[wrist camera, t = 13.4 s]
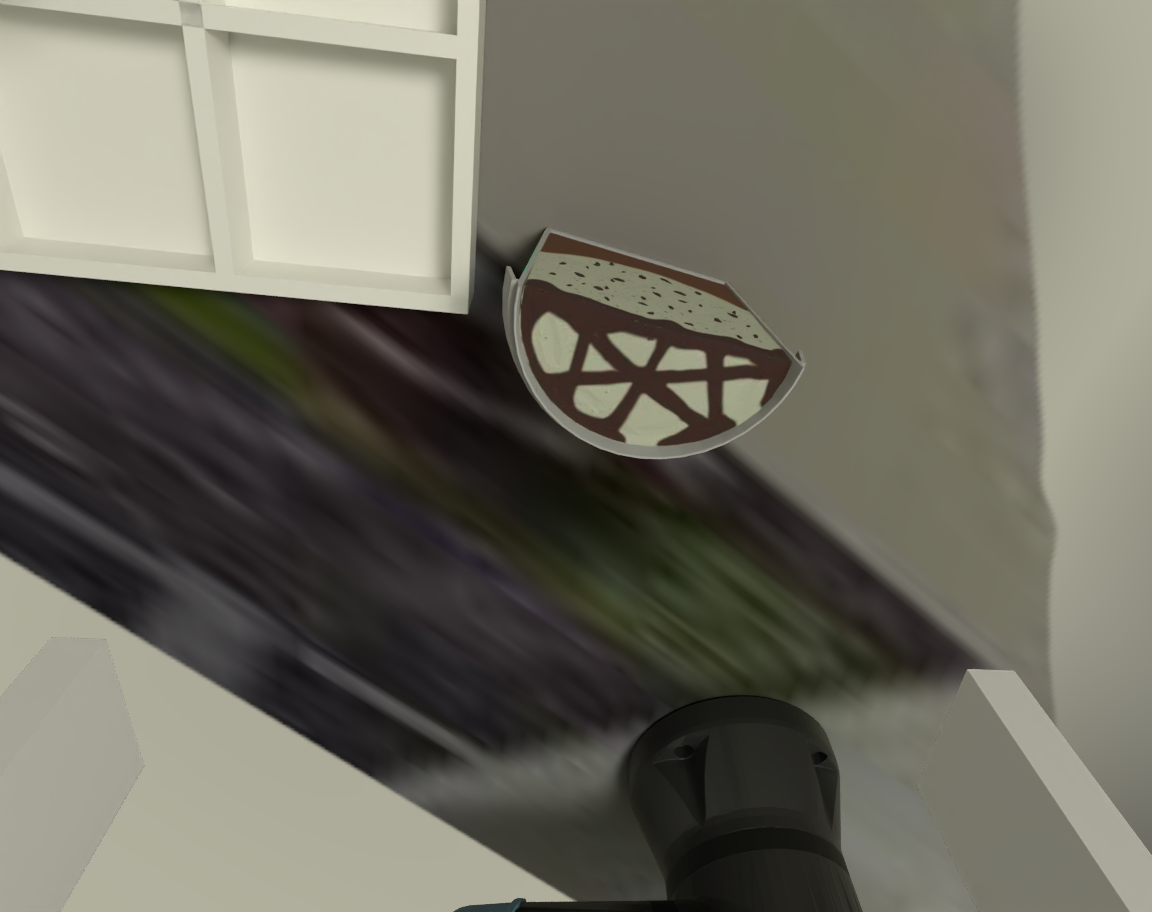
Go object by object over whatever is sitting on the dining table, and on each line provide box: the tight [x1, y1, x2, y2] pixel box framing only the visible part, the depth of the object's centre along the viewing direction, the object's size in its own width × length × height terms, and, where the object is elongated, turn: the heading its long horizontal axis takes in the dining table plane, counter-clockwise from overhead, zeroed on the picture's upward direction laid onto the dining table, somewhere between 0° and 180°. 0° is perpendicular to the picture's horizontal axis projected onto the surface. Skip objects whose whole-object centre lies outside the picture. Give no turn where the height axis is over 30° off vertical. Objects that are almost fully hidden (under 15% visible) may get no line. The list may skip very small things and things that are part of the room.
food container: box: [502, 227, 806, 459], centre depth 33 cm, size 12×6×10 cm, turn 73°
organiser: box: [0, 0, 486, 314], centre depth 29 cm, size 21×21×3 cm
